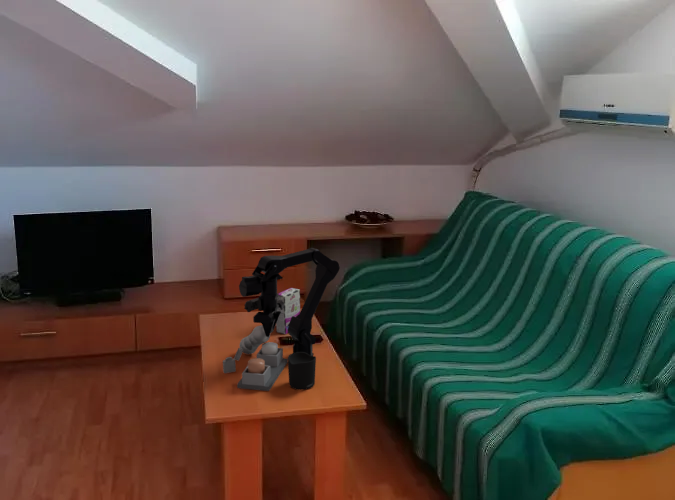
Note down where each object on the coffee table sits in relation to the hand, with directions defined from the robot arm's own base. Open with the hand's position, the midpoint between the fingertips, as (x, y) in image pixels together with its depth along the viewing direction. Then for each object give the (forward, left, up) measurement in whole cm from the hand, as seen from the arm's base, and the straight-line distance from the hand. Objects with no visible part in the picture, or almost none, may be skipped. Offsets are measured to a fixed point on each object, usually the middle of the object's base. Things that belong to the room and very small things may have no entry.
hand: (269, 334), depth 242 cm
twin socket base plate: (0, +8, -12) cm, 14 cm away
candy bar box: (+3, -37, -12) cm, 39 cm away
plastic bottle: (+12, -10, -10) cm, 19 cm away
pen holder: (-15, +13, -12) cm, 23 cm away
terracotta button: (0, +16, -8) cm, 18 cm away
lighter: (+12, +7, -12) cm, 18 cm away
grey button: (0, 0, -8) cm, 8 cm away
